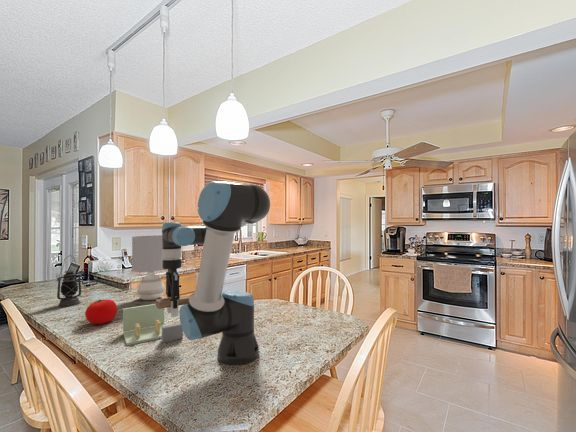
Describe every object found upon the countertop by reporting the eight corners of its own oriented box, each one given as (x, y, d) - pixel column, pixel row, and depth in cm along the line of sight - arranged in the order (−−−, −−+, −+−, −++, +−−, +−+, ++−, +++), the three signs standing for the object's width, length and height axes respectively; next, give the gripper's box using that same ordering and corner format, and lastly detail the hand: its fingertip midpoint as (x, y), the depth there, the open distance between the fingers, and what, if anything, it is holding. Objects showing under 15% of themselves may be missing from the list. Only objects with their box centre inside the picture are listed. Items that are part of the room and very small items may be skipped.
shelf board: (189, 303, 124) (189, 297, 124) (158, 308, 117) (158, 302, 117) (185, 301, 129) (185, 295, 129) (155, 305, 122) (155, 299, 122)
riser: (182, 338, 124) (182, 324, 124) (162, 343, 120) (162, 328, 120) (181, 336, 126) (181, 322, 126) (161, 341, 122) (161, 326, 122)
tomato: (121, 322, 145) (121, 299, 145) (88, 329, 135) (88, 305, 135) (113, 316, 154) (113, 294, 154) (81, 323, 144) (81, 300, 144)
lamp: (127, 298, 190) (127, 236, 190) (162, 292, 204) (162, 235, 205) (138, 305, 174) (138, 237, 174) (174, 298, 188) (174, 236, 189)
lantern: (78, 300, 186) (78, 253, 186) (84, 303, 179) (84, 254, 180) (53, 305, 175) (54, 255, 176) (60, 308, 169) (60, 256, 170)
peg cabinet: (171, 336, 127) (171, 310, 127) (126, 345, 118) (126, 318, 118) (163, 325, 140) (163, 302, 140) (122, 333, 130) (123, 308, 131)
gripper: (187, 259, 118) (188, 318, 117) (175, 256, 134) (176, 307, 133) (167, 261, 114) (168, 321, 113) (158, 257, 129) (158, 310, 129)
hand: (172, 314), depth 123 cm, fingers closed on shelf board, 6 cm apart
